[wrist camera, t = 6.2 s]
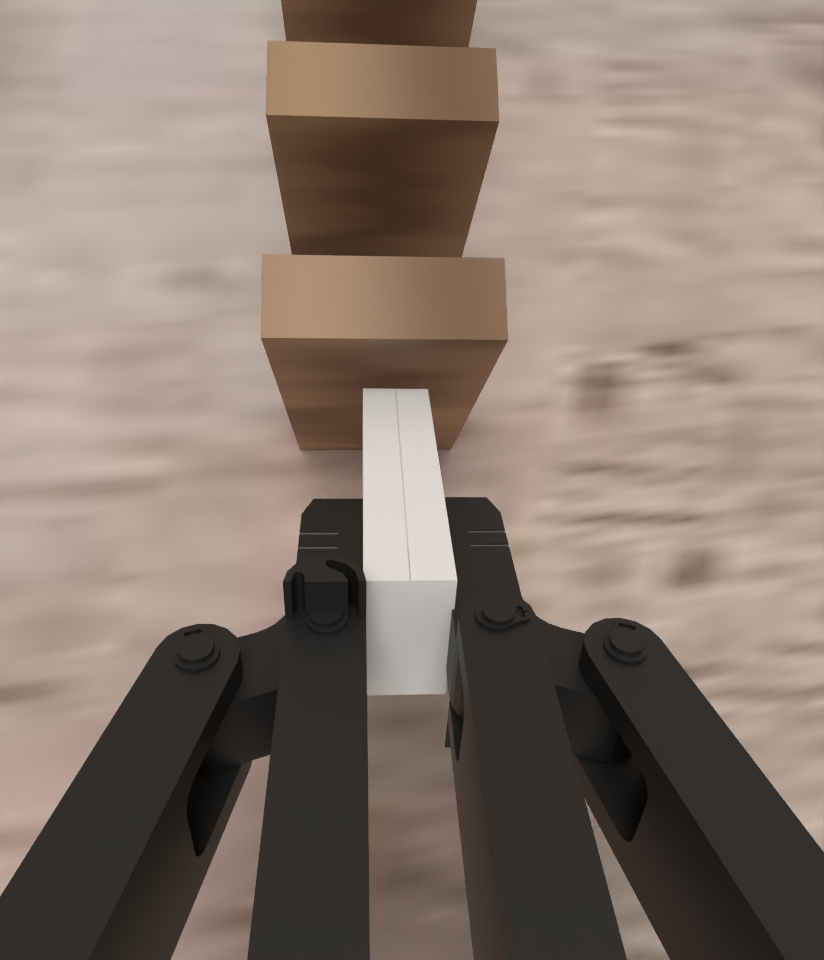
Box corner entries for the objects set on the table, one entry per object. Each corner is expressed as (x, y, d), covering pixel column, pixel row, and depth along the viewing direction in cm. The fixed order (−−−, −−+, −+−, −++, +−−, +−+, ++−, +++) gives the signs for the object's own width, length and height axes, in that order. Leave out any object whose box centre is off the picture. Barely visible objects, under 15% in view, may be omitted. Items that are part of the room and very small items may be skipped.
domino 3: (300, 449, 25) (261, 337, 15) (300, 397, 25) (262, 254, 15) (450, 449, 25) (507, 339, 15) (449, 397, 26) (504, 258, 16)
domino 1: (303, 174, 27) (270, -85, 17) (303, 128, 27) (271, -152, 17) (443, 178, 27) (491, -74, 17) (442, 132, 27) (487, -140, 18)
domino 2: (301, 307, 26) (266, 114, 16) (302, 258, 26) (267, 40, 16) (447, 308, 26) (499, 121, 16) (445, 260, 26) (496, 48, 17)
